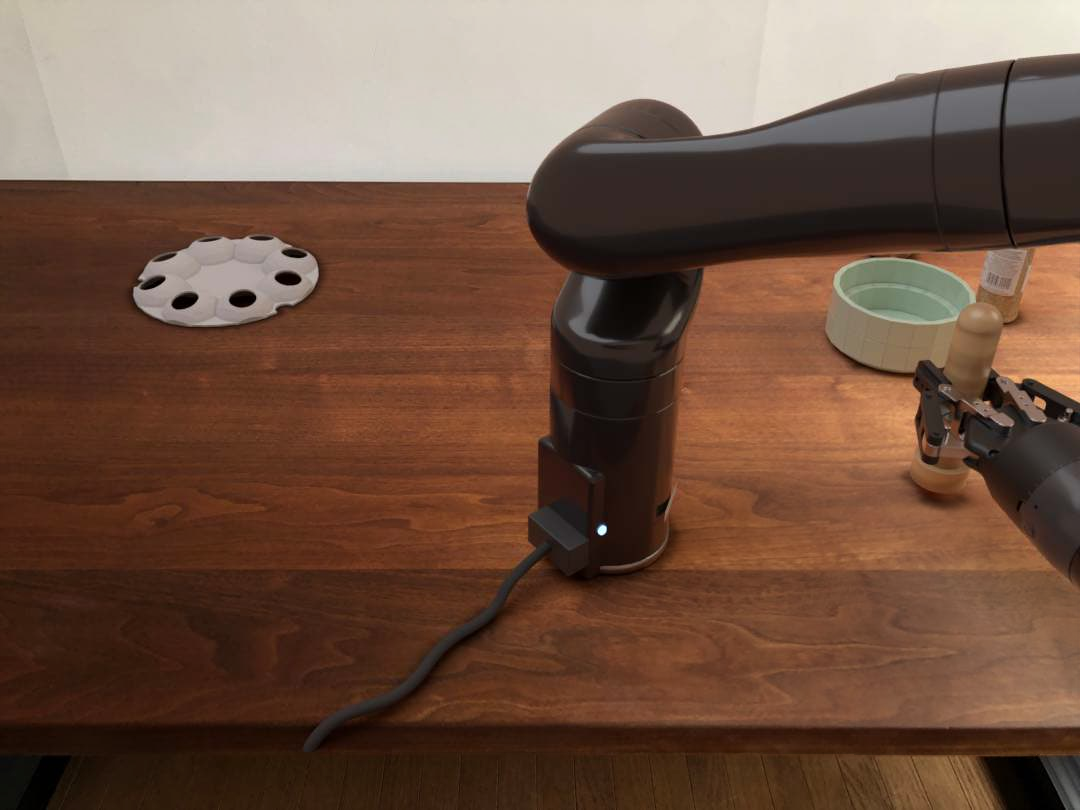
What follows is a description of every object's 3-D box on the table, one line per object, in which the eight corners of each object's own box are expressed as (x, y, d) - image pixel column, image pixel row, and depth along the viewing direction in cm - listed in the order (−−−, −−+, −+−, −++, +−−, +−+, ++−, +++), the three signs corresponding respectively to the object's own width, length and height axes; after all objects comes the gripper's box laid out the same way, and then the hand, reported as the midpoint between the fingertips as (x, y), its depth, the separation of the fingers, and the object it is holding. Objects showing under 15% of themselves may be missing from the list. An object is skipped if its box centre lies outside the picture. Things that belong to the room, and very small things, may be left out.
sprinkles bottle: (1025, 317, 109) (1063, 196, 101) (997, 329, 107) (1033, 207, 99) (988, 298, 112) (1022, 180, 105) (960, 310, 110) (992, 190, 102)
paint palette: (259, 341, 105) (256, 323, 103) (94, 308, 110) (89, 291, 109) (350, 255, 120) (348, 239, 119) (201, 230, 125) (198, 214, 124)
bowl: (906, 394, 98) (920, 339, 94) (796, 335, 106) (805, 282, 103) (988, 348, 104) (1004, 295, 101) (878, 296, 113) (889, 245, 109)
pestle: (945, 501, 83) (994, 326, 74) (898, 473, 86) (941, 302, 77) (977, 479, 86) (1029, 307, 77) (930, 453, 89) (975, 284, 79)
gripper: (1190, 446, 69) (1034, 316, 82) (994, 474, 66) (868, 335, 80) (1151, 533, 73) (1010, 395, 87) (966, 562, 70) (851, 416, 84)
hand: (942, 367), depth 83 cm, fingers closed on pestle, 3 cm apart
